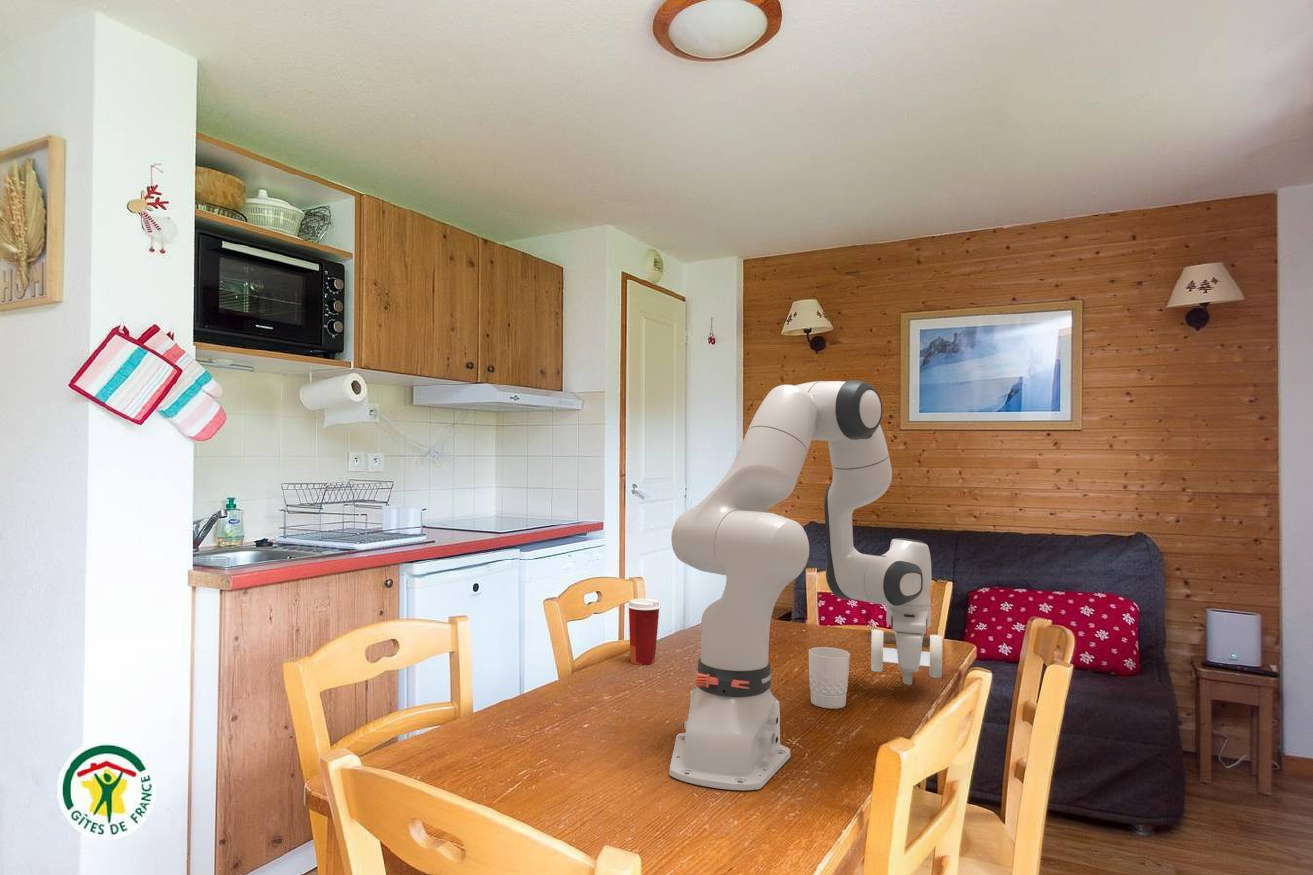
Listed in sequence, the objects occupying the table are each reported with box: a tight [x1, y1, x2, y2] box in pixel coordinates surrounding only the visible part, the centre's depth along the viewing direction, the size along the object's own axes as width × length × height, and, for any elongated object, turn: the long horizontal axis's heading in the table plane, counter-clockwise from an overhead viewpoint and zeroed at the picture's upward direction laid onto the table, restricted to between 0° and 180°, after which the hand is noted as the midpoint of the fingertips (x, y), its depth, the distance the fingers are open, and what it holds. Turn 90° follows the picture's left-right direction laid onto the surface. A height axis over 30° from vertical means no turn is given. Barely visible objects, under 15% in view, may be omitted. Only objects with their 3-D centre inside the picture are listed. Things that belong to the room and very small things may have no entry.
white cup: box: [808, 646, 851, 710], centre depth 148 cm, size 8×8×10 cm
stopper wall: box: [867, 629, 930, 646], centre depth 198 cm, size 2×18×2 cm, turn 73°
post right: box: [928, 634, 943, 679], centre depth 168 cm, size 3×3×9 cm
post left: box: [870, 628, 885, 673], centre depth 172 cm, size 3×3×9 cm
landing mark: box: [883, 647, 930, 668], centre depth 184 cm, size 14×14×1 cm
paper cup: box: [626, 597, 662, 666], centre depth 174 cm, size 8×8×14 cm
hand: (907, 682), depth 157 cm, fingers closed
